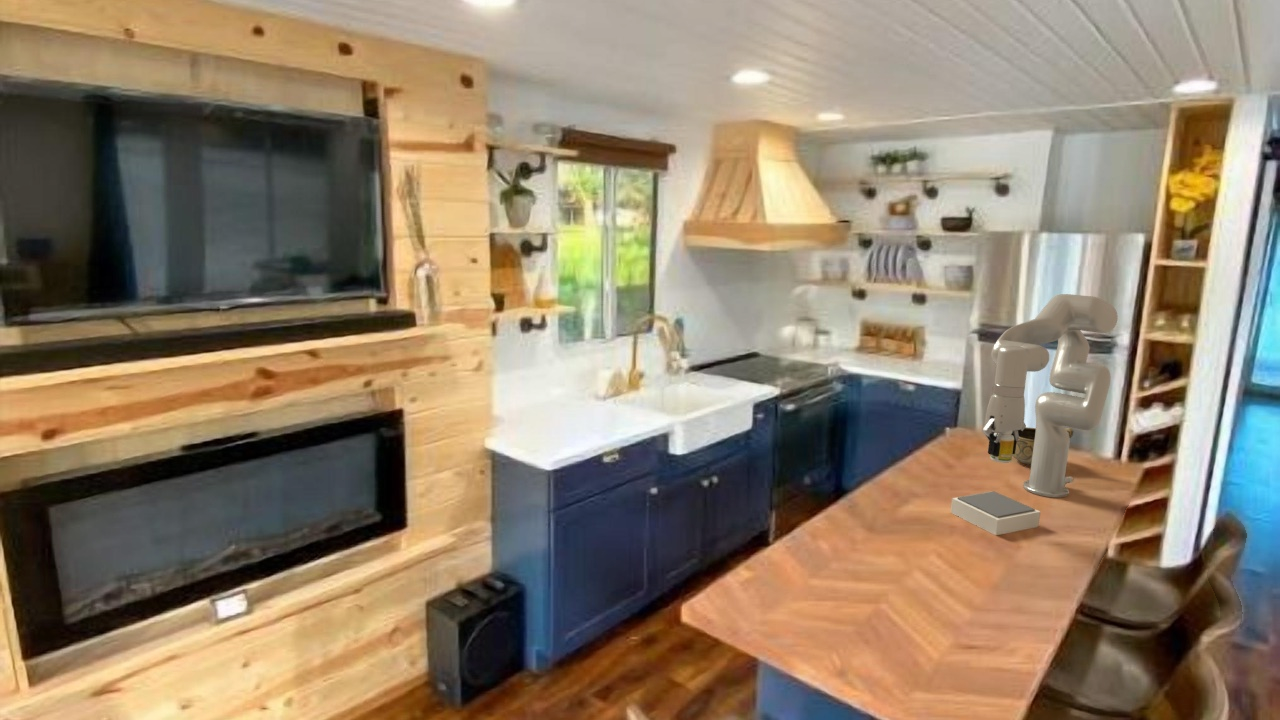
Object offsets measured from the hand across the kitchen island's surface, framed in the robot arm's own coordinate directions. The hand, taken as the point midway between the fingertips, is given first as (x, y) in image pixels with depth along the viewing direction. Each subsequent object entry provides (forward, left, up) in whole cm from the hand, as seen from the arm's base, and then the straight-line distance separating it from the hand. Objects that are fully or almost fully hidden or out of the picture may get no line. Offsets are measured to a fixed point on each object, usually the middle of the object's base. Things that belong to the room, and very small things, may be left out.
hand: (1001, 453), depth 200 cm
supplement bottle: (0, 0, -2) cm, 2 cm away
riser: (0, 0, -20) cm, 20 cm away
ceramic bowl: (-52, -31, -20) cm, 64 cm away
